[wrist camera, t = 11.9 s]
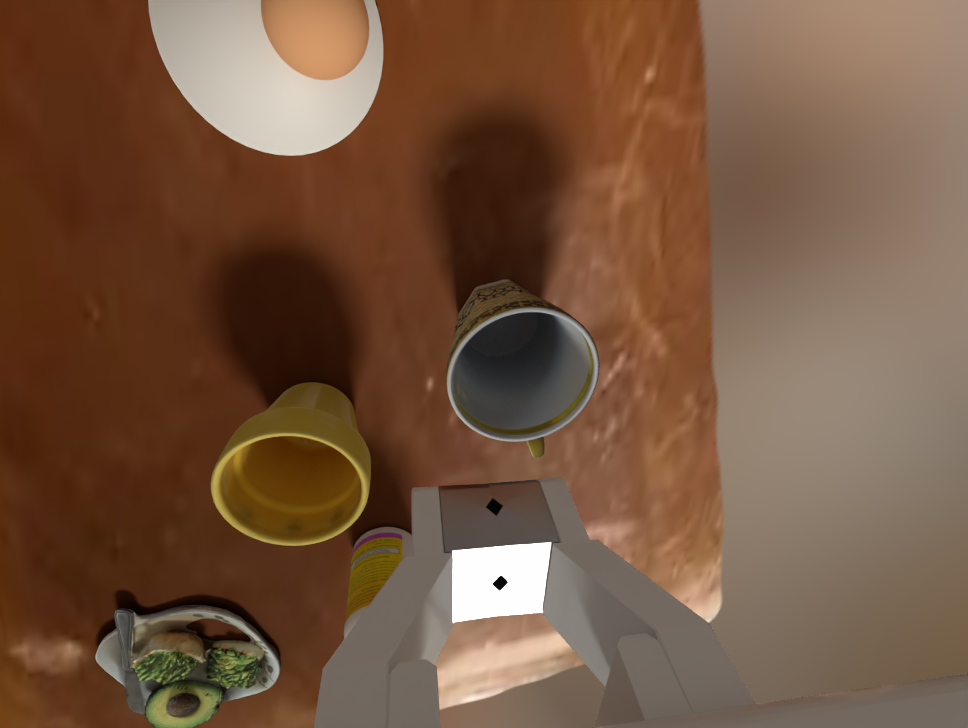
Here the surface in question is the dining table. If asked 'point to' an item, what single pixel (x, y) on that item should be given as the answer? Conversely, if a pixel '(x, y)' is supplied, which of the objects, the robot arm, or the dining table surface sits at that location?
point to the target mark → (260, 77)
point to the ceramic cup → (519, 365)
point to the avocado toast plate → (184, 664)
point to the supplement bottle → (373, 568)
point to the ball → (317, 34)
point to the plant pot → (295, 469)
